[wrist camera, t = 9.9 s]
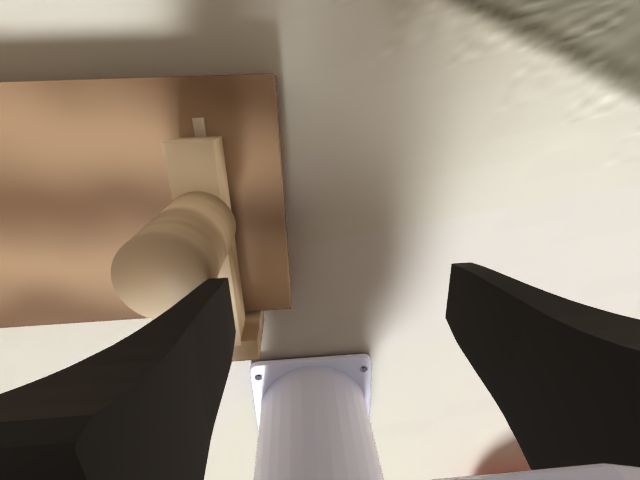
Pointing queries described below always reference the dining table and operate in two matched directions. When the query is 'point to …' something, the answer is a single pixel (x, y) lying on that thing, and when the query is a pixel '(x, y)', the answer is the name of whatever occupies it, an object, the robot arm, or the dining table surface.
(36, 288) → the walnut board
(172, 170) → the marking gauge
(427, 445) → the dining table surface
